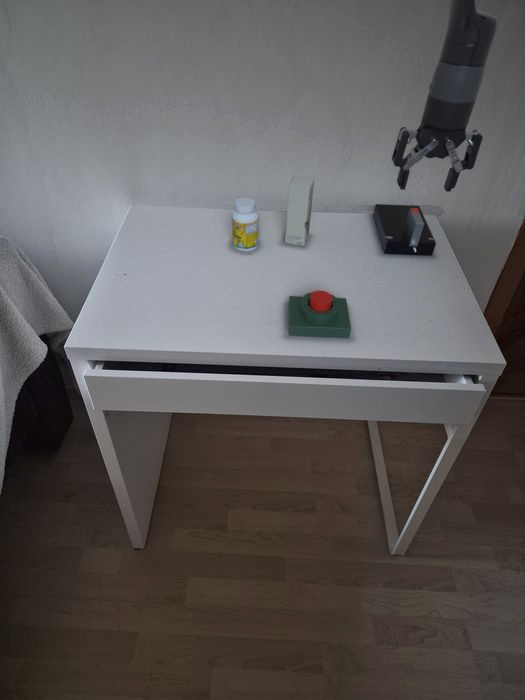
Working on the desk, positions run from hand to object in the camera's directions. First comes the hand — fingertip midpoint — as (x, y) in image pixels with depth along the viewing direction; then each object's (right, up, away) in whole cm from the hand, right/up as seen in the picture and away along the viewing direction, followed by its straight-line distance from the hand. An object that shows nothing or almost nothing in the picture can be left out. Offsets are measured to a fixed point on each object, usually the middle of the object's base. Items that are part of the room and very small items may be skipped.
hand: (424, 188), depth 84 cm
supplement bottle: (-34, -9, +10) cm, 37 cm away
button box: (-21, -25, -7) cm, 34 cm away
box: (-23, -7, +12) cm, 27 cm away
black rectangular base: (0, -6, +13) cm, 14 cm away
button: (-21, -23, -9) cm, 32 cm away
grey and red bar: (0, -7, +7) cm, 11 cm away
